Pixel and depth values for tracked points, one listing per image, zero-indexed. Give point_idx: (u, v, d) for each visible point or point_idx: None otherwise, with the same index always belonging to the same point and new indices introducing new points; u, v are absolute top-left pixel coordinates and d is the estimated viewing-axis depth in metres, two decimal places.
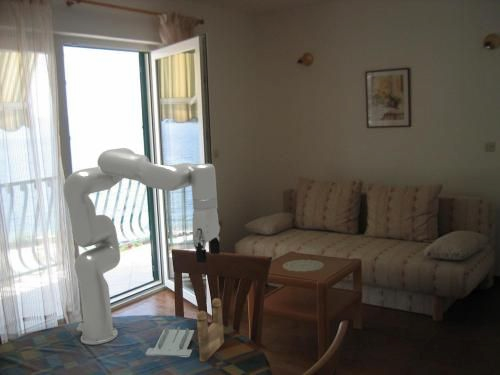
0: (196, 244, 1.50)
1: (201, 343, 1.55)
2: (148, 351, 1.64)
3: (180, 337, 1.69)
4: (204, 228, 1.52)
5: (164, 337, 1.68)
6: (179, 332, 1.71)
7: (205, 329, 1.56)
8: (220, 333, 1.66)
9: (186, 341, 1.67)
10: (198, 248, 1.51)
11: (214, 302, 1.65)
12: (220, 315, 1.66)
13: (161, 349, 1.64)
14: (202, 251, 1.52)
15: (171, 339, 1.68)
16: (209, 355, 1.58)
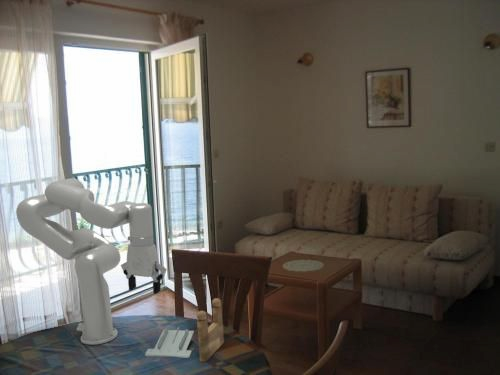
0: (163, 275, 1.65)
1: (201, 343, 1.55)
2: (147, 352, 1.64)
3: (180, 338, 1.68)
4: None
5: (164, 338, 1.68)
6: (179, 333, 1.71)
7: (205, 329, 1.56)
8: (220, 333, 1.66)
9: (186, 342, 1.66)
10: (160, 279, 1.66)
11: (214, 302, 1.65)
12: (220, 315, 1.66)
13: (160, 350, 1.64)
14: None
15: (171, 340, 1.68)
16: (209, 355, 1.58)
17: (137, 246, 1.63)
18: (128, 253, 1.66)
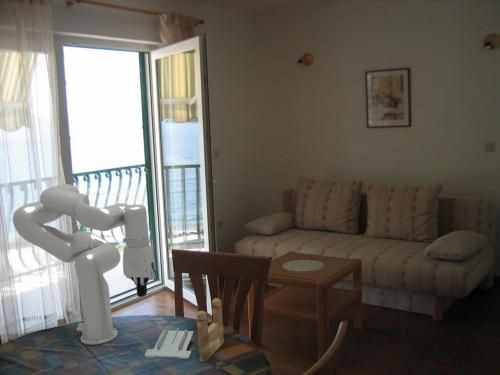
0: None
1: (201, 343, 1.55)
2: (147, 352, 1.63)
3: (179, 338, 1.68)
4: (154, 261, 1.67)
5: (163, 338, 1.67)
6: (178, 333, 1.70)
7: (205, 329, 1.56)
8: (220, 333, 1.66)
9: (185, 342, 1.66)
10: (146, 282, 1.68)
11: (214, 302, 1.65)
12: (220, 315, 1.66)
13: (160, 350, 1.63)
14: None
15: (170, 340, 1.68)
16: (209, 355, 1.58)
17: (133, 247, 1.63)
18: (124, 255, 1.66)
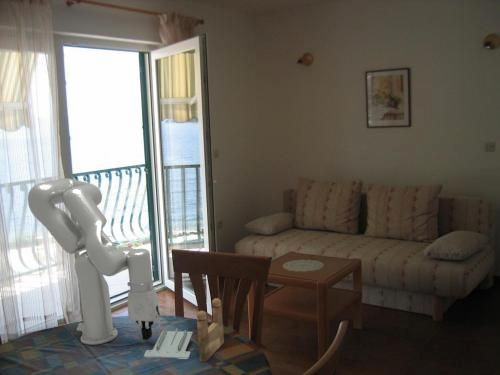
0: None
1: (201, 343, 1.55)
2: (146, 353, 1.63)
3: (178, 339, 1.68)
4: (158, 304, 1.69)
5: (162, 339, 1.67)
6: (177, 334, 1.70)
7: (205, 329, 1.56)
8: (220, 333, 1.66)
9: (184, 343, 1.65)
10: (151, 325, 1.70)
11: (214, 302, 1.65)
12: (220, 315, 1.66)
13: (159, 351, 1.63)
14: None
15: (169, 341, 1.67)
16: (209, 355, 1.58)
17: (138, 292, 1.65)
18: (129, 299, 1.68)
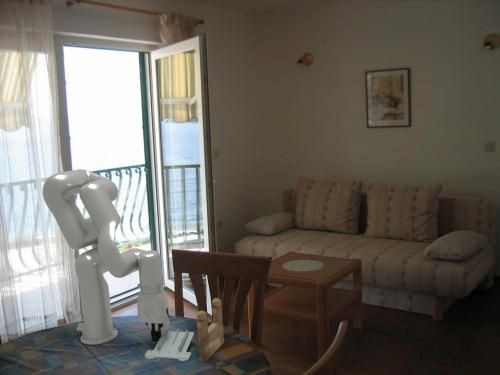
0: (164, 323, 1.68)
1: (201, 343, 1.55)
2: (147, 353, 1.62)
3: (180, 339, 1.67)
4: (168, 306, 1.68)
5: (164, 339, 1.66)
6: (179, 334, 1.69)
7: (205, 329, 1.56)
8: (220, 333, 1.66)
9: (186, 343, 1.65)
10: (161, 327, 1.69)
11: (214, 302, 1.65)
12: (220, 315, 1.66)
13: (160, 351, 1.62)
14: None
15: (171, 341, 1.66)
16: (209, 355, 1.58)
17: (148, 294, 1.64)
18: (139, 301, 1.67)
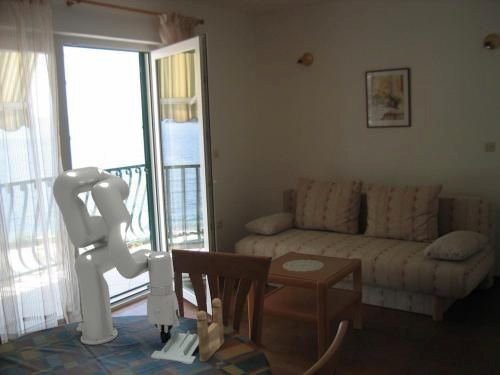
0: None
1: (201, 343, 1.55)
2: (154, 354, 1.62)
3: (188, 342, 1.65)
4: (178, 308, 1.67)
5: (172, 341, 1.65)
6: (188, 337, 1.67)
7: (205, 329, 1.56)
8: (220, 333, 1.66)
9: (192, 347, 1.62)
10: (170, 329, 1.67)
11: (214, 302, 1.65)
12: (220, 315, 1.66)
13: (166, 353, 1.61)
14: None
15: (179, 343, 1.65)
16: (209, 355, 1.58)
17: (158, 295, 1.63)
18: (148, 302, 1.66)
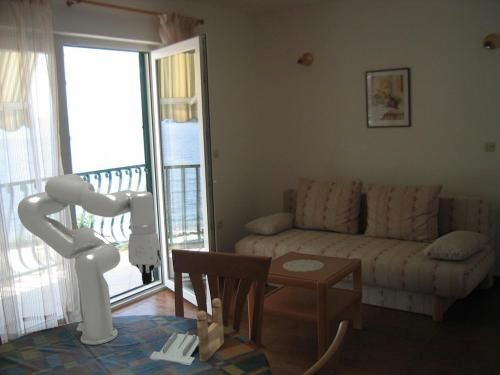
0: None
1: (201, 343, 1.55)
2: (152, 355, 1.61)
3: (187, 343, 1.64)
4: None
5: (171, 341, 1.65)
6: (187, 337, 1.67)
7: (205, 329, 1.56)
8: (220, 333, 1.66)
9: (191, 348, 1.62)
10: (152, 270, 1.66)
11: (214, 302, 1.65)
12: (220, 315, 1.66)
13: (165, 354, 1.61)
14: None
15: (178, 344, 1.64)
16: (209, 355, 1.58)
17: (139, 234, 1.62)
18: (130, 242, 1.65)
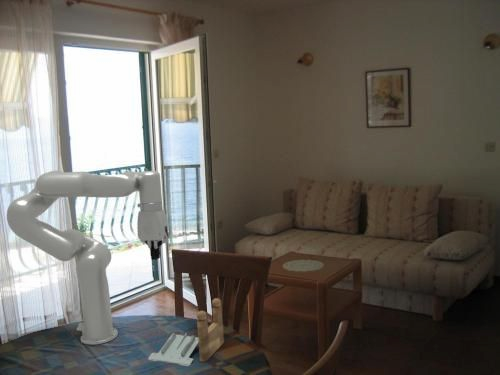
0: None
1: (201, 343, 1.55)
2: (151, 356, 1.61)
3: (185, 344, 1.63)
4: (167, 225, 1.74)
5: (169, 343, 1.64)
6: (186, 338, 1.66)
7: (205, 329, 1.56)
8: (220, 333, 1.66)
9: (190, 349, 1.61)
10: (160, 245, 1.75)
11: (214, 302, 1.65)
12: (220, 315, 1.66)
13: (164, 355, 1.60)
14: None
15: (176, 345, 1.64)
16: (209, 355, 1.58)
17: (148, 211, 1.70)
18: (139, 219, 1.73)
